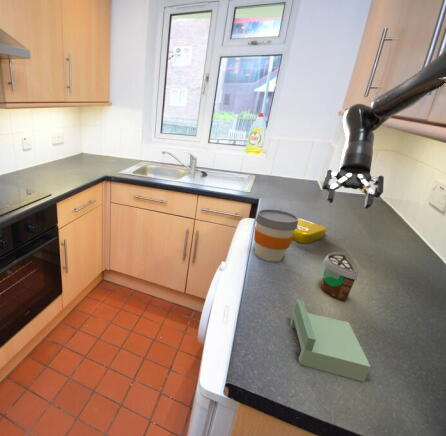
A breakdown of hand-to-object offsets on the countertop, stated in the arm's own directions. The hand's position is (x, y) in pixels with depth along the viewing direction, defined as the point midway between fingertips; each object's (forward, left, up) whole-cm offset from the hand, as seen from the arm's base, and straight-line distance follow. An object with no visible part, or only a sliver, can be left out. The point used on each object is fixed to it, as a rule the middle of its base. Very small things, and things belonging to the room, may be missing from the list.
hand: (348, 204), depth 86 cm
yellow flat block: (+4, -30, -23) cm, 38 cm away
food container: (+2, +11, -23) cm, 26 cm away
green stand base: (+9, +38, -23) cm, 45 cm away
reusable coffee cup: (+17, -5, -23) cm, 29 cm away
